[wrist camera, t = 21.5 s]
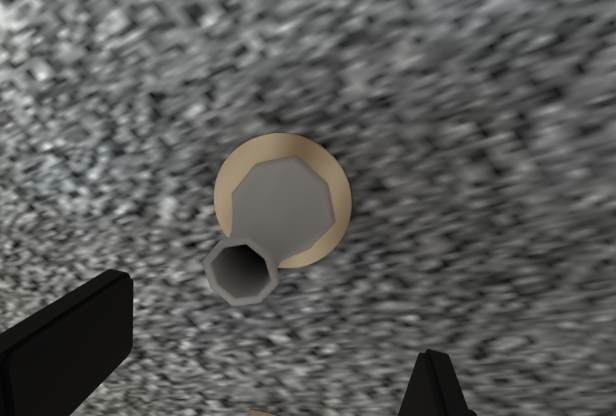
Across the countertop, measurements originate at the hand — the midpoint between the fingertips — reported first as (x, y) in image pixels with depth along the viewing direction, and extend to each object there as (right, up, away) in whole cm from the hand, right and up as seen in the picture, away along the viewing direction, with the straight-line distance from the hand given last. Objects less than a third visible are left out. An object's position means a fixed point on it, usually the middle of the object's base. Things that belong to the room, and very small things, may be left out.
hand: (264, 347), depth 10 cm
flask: (0, +5, +13) cm, 14 cm away
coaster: (0, +5, +14) cm, 15 cm away
